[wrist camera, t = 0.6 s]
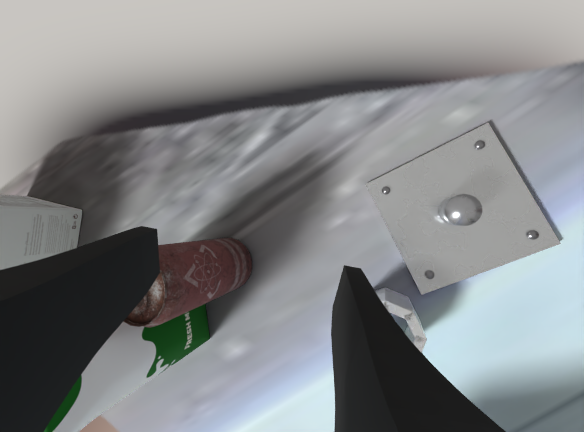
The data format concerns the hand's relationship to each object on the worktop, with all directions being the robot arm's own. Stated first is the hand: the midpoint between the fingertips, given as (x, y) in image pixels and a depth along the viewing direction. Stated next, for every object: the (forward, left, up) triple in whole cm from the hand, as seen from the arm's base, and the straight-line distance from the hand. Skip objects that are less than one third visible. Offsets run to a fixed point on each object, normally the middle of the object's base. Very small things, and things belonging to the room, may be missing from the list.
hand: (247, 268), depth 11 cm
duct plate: (-2, -11, -21) cm, 24 cm away
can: (+3, +13, -21) cm, 25 cm away
